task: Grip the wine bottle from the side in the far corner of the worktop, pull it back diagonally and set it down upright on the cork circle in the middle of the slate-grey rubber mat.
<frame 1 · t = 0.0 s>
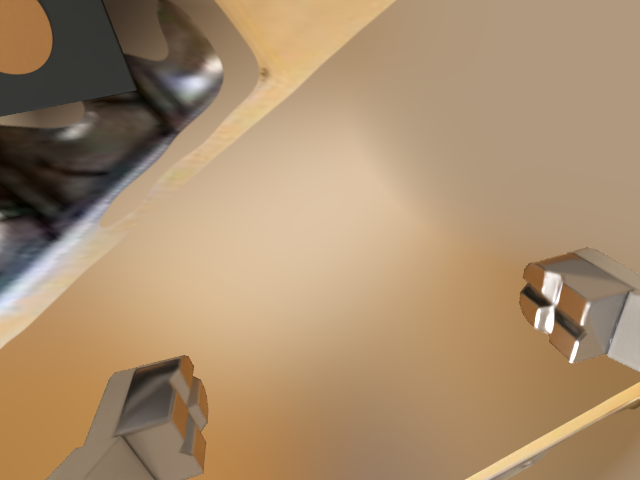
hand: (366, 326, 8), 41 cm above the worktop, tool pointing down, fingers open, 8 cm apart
centre mat: (2, 24, 36), on the worktop
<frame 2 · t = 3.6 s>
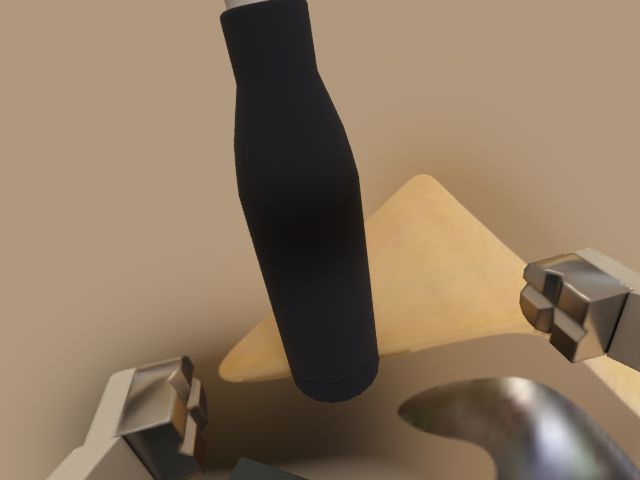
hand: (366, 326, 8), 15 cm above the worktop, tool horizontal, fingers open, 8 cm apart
wine bottle: (335, 365, 26), on the worktop
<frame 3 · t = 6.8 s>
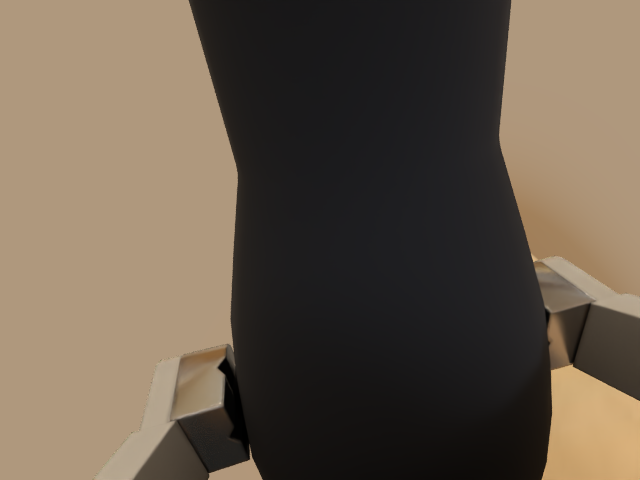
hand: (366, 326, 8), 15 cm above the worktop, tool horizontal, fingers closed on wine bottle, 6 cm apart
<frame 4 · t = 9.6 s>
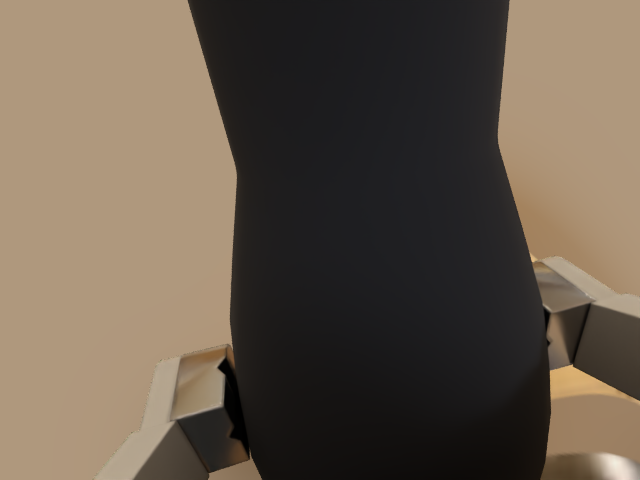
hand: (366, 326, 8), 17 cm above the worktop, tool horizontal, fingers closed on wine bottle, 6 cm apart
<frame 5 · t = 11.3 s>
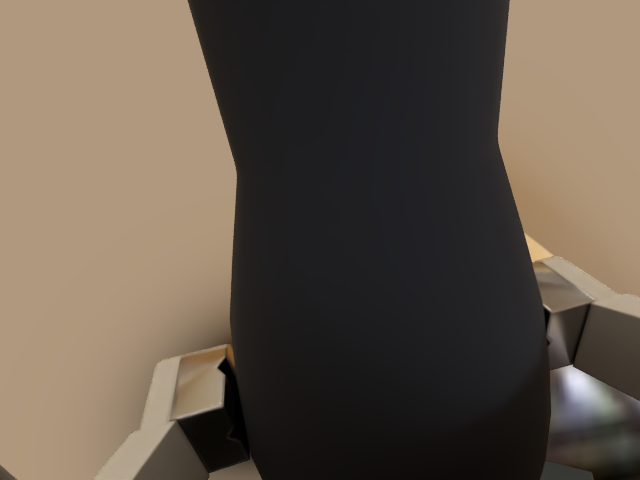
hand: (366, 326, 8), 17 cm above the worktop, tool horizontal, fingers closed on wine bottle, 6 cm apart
when the fingers open (16 cm above the worktop, at t = 12.7 s): wine bottle stays where it is, resting on centre mat.
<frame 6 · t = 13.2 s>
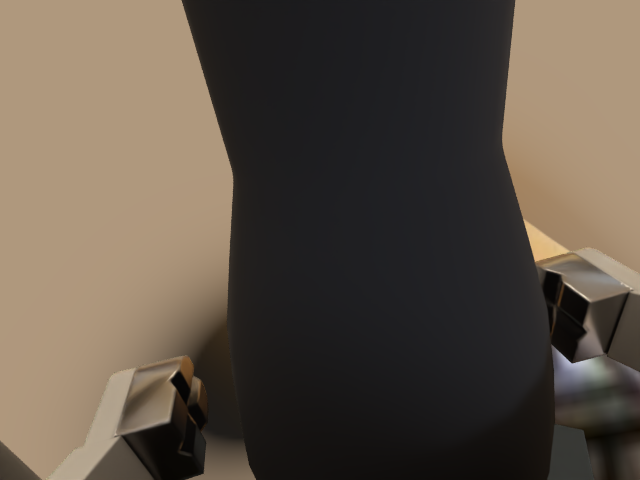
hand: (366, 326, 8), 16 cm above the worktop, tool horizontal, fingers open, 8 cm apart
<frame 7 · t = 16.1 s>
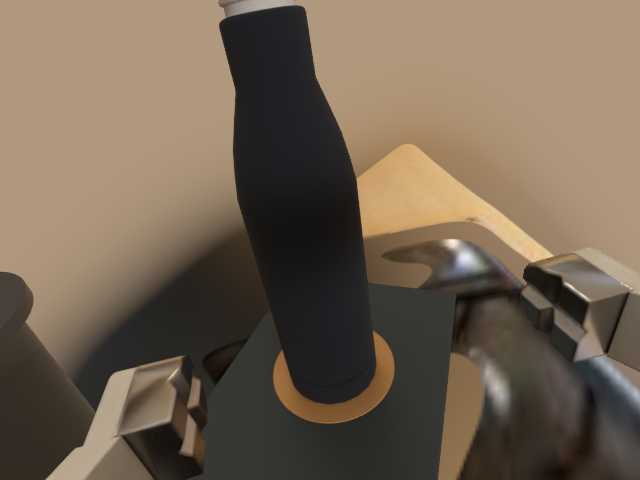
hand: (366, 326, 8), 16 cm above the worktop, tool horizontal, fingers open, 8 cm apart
wine bottle: (333, 367, 27), point 1 cm above the worktop, touching centre mat
centre mat: (333, 371, 27), on the worktop
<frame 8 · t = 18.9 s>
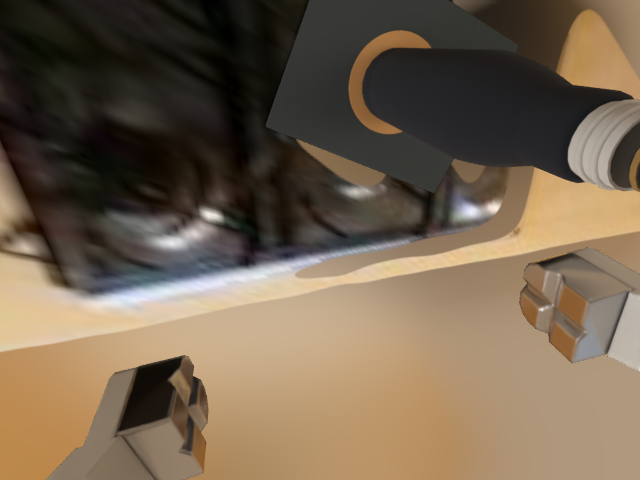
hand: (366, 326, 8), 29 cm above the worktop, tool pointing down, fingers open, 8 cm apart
wine bottle: (393, 85, 34), point 1 cm above the worktop, touching centre mat
centre mat: (392, 84, 34), on the worktop
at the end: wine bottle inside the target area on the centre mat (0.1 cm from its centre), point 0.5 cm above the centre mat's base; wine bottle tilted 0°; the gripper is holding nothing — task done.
